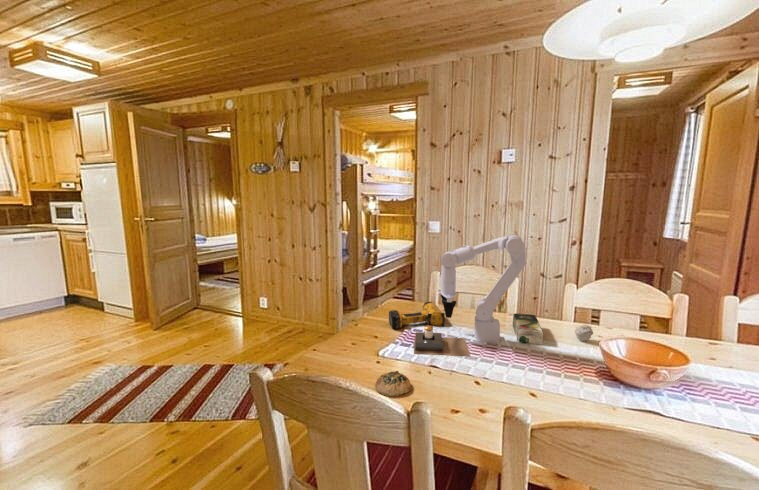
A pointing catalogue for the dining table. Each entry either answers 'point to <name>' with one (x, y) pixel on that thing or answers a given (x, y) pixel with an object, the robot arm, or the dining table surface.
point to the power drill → (418, 316)
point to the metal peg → (428, 332)
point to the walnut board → (449, 348)
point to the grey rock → (583, 332)
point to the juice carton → (527, 328)
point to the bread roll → (393, 384)
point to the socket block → (428, 342)
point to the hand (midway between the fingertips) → (447, 314)
